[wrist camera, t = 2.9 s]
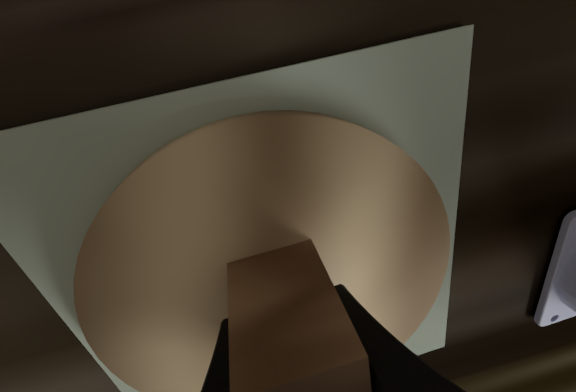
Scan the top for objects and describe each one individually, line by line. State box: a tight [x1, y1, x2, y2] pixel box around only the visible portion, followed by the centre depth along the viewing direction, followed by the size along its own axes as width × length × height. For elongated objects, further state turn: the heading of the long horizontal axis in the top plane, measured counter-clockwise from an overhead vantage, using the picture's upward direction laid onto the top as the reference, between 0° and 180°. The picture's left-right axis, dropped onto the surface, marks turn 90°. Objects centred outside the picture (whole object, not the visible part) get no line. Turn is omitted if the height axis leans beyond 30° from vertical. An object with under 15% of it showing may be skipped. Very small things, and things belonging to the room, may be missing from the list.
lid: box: [73, 110, 450, 392], centre depth 10 cm, size 14×14×6 cm
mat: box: [0, 25, 474, 392], centre depth 12 cm, size 16×16×1 cm
